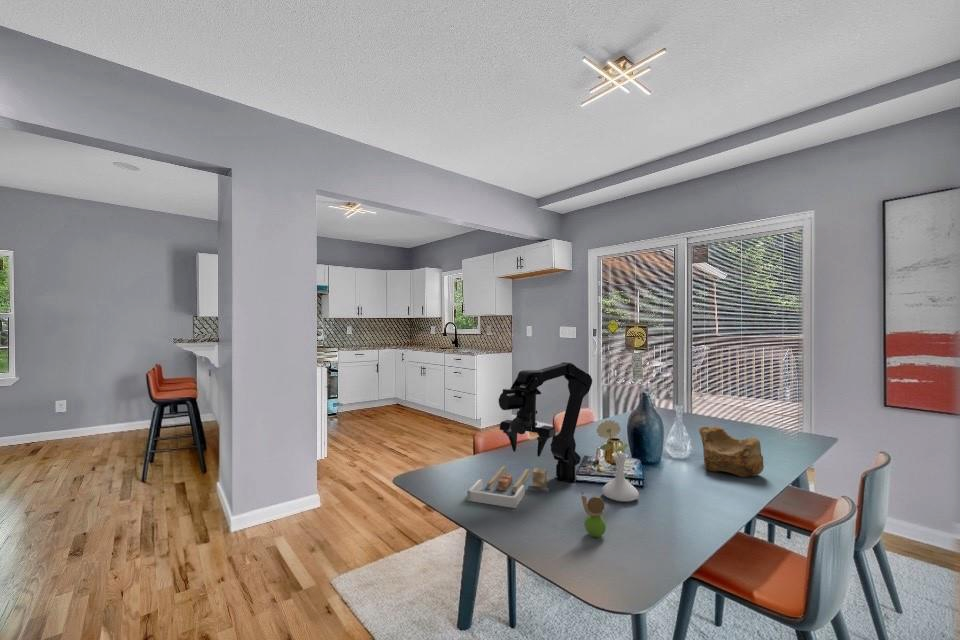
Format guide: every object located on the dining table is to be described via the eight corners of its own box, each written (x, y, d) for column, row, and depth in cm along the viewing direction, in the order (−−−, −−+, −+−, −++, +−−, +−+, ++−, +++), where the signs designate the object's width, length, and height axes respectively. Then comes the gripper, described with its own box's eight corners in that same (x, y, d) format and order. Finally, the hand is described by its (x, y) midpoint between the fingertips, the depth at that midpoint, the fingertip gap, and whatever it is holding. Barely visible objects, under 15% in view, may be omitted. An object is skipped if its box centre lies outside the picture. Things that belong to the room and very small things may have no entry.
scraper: (550, 487, 144) (550, 469, 144) (548, 492, 140) (548, 474, 140) (531, 484, 146) (530, 467, 146) (527, 489, 142) (527, 471, 142)
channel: (529, 474, 156) (529, 469, 156) (516, 493, 139) (516, 487, 139) (502, 471, 159) (502, 466, 159) (487, 488, 143) (487, 483, 143)
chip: (509, 487, 144) (509, 478, 144) (506, 490, 141) (506, 482, 141) (500, 486, 145) (500, 477, 145) (498, 489, 142) (498, 480, 142)
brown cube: (512, 483, 148) (512, 475, 148) (510, 486, 145) (509, 477, 145) (504, 482, 149) (504, 474, 149) (501, 485, 146) (501, 476, 146)
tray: (524, 494, 138) (524, 485, 138) (515, 508, 128) (515, 498, 128) (479, 487, 144) (479, 479, 144) (467, 500, 133) (467, 491, 133)
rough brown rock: (682, 467, 166) (680, 430, 165) (707, 457, 174) (706, 422, 173) (742, 489, 145) (741, 447, 144) (767, 476, 153) (766, 437, 152)
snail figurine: (578, 531, 113) (578, 487, 113) (601, 530, 114) (600, 486, 114) (585, 541, 108) (584, 495, 108) (609, 540, 108) (608, 494, 108)
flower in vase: (638, 493, 138) (637, 417, 139) (639, 507, 128) (639, 425, 128) (597, 488, 143) (597, 415, 143) (595, 501, 132) (595, 422, 132)
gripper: (491, 407, 141) (490, 454, 140) (542, 415, 130) (541, 465, 130) (507, 403, 150) (506, 447, 149) (556, 410, 140) (555, 456, 139)
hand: (526, 453), depth 142 cm, fingers open, 9 cm apart
